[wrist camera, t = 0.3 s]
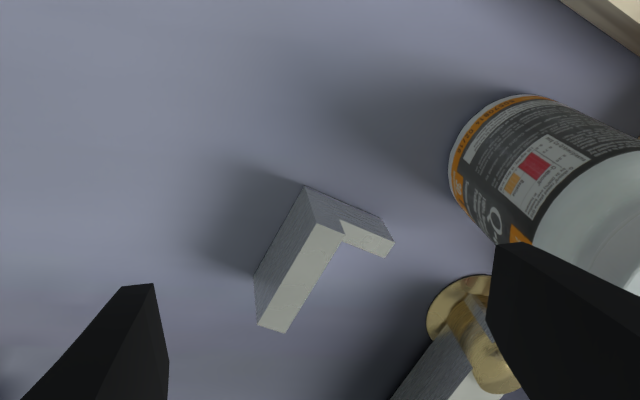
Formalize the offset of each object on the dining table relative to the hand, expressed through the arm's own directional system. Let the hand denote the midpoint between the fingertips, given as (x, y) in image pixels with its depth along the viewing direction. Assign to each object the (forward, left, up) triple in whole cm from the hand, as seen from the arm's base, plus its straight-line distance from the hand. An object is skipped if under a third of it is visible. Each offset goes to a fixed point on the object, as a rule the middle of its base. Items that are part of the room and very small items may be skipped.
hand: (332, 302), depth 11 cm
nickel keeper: (-4, +4, -10) cm, 12 cm away
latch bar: (-12, +8, -10) cm, 18 cm away
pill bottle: (-9, -3, -10) cm, 14 cm away
